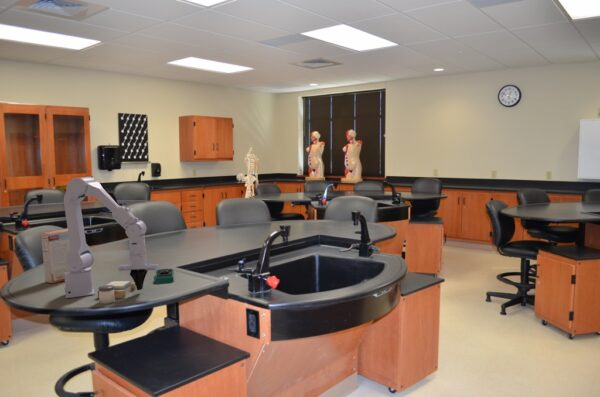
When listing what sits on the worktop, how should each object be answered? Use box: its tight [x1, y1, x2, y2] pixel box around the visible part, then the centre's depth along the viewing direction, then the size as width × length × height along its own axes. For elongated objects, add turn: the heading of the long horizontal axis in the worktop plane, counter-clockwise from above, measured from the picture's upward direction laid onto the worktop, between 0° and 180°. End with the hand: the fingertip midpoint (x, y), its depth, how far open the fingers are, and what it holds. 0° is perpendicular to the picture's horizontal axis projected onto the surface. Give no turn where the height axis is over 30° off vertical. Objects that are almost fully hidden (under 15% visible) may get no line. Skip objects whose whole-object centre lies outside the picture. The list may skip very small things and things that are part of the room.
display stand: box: [97, 282, 137, 299], centre depth 175 cm, size 10×11×2 cm
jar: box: [98, 284, 116, 305], centre depth 165 cm, size 5×5×5 cm
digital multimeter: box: [154, 268, 175, 284], centre depth 196 cm, size 7×15×3 cm, turn 15°
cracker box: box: [40, 228, 70, 284], centre depth 197 cm, size 14×6×21 cm, turn 148°
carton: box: [106, 280, 132, 295], centre depth 175 cm, size 7×6×4 cm
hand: (139, 289), depth 174 cm, fingers closed
